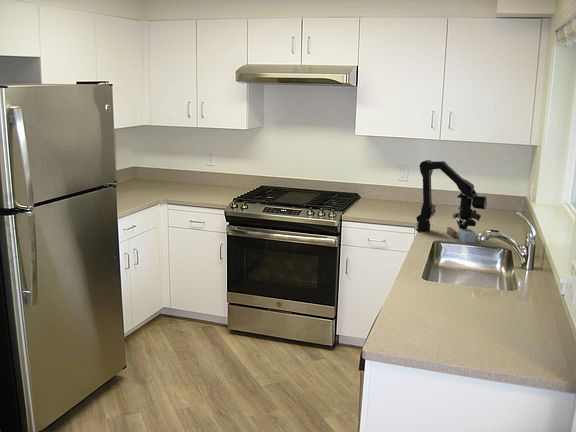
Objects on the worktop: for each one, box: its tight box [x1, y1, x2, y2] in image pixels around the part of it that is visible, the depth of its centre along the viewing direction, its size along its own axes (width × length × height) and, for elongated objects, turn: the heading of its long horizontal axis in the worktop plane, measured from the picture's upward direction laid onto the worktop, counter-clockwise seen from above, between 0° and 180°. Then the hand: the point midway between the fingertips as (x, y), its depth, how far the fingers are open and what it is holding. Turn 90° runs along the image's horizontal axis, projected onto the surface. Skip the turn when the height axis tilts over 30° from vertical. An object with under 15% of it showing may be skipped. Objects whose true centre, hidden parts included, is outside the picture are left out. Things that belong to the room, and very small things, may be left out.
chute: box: [446, 226, 469, 238], centre depth 326 cm, size 12×10×3 cm
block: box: [458, 228, 477, 242], centre depth 316 cm, size 6×8×5 cm
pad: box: [451, 237, 482, 245], centre depth 316 cm, size 12×12×1 cm
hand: (462, 234), depth 322 cm, fingers closed
